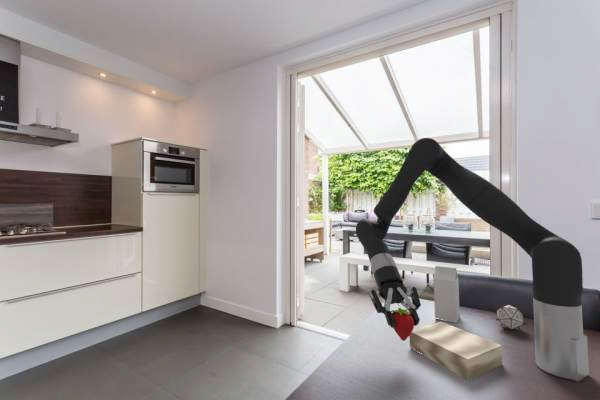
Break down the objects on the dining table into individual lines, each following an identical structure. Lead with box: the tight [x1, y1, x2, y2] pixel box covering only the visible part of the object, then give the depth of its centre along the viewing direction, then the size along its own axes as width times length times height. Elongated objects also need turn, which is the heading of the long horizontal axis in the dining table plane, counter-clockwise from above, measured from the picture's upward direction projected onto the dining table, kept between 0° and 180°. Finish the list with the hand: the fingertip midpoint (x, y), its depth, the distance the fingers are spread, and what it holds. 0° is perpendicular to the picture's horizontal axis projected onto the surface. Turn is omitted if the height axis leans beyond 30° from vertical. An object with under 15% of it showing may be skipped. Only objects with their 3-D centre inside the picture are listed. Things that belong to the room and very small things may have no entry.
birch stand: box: [408, 321, 503, 381], centre depth 80 cm, size 18×14×5 cm
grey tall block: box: [433, 265, 461, 324], centre depth 106 cm, size 7×7×19 cm
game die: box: [494, 301, 528, 333], centre depth 96 cm, size 9×8×10 cm
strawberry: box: [390, 303, 415, 341], centre depth 78 cm, size 6×8×10 cm
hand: (405, 325), depth 77 cm, fingers closed on strawberry, 6 cm apart
